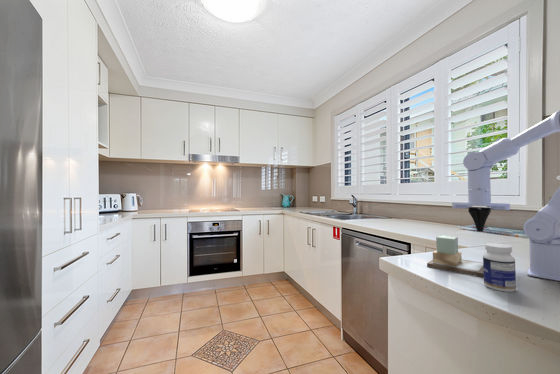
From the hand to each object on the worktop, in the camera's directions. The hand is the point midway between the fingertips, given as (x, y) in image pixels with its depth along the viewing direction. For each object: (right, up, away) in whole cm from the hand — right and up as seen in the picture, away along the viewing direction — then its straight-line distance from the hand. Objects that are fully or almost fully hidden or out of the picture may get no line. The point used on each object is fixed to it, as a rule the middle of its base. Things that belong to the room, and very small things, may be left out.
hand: (480, 231), depth 80 cm
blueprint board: (-12, -9, -7) cm, 16 cm away
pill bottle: (-14, -9, -22) cm, 28 cm away
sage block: (-14, -5, -5) cm, 16 cm away
